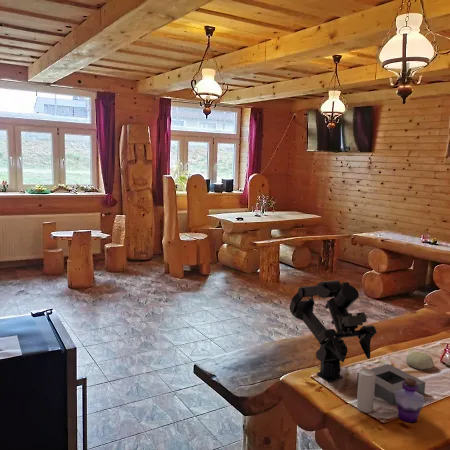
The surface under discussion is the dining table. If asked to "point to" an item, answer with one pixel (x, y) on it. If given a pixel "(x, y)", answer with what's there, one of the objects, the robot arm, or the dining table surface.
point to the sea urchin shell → (419, 360)
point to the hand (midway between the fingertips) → (356, 360)
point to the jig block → (393, 376)
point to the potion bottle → (409, 401)
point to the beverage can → (366, 390)
